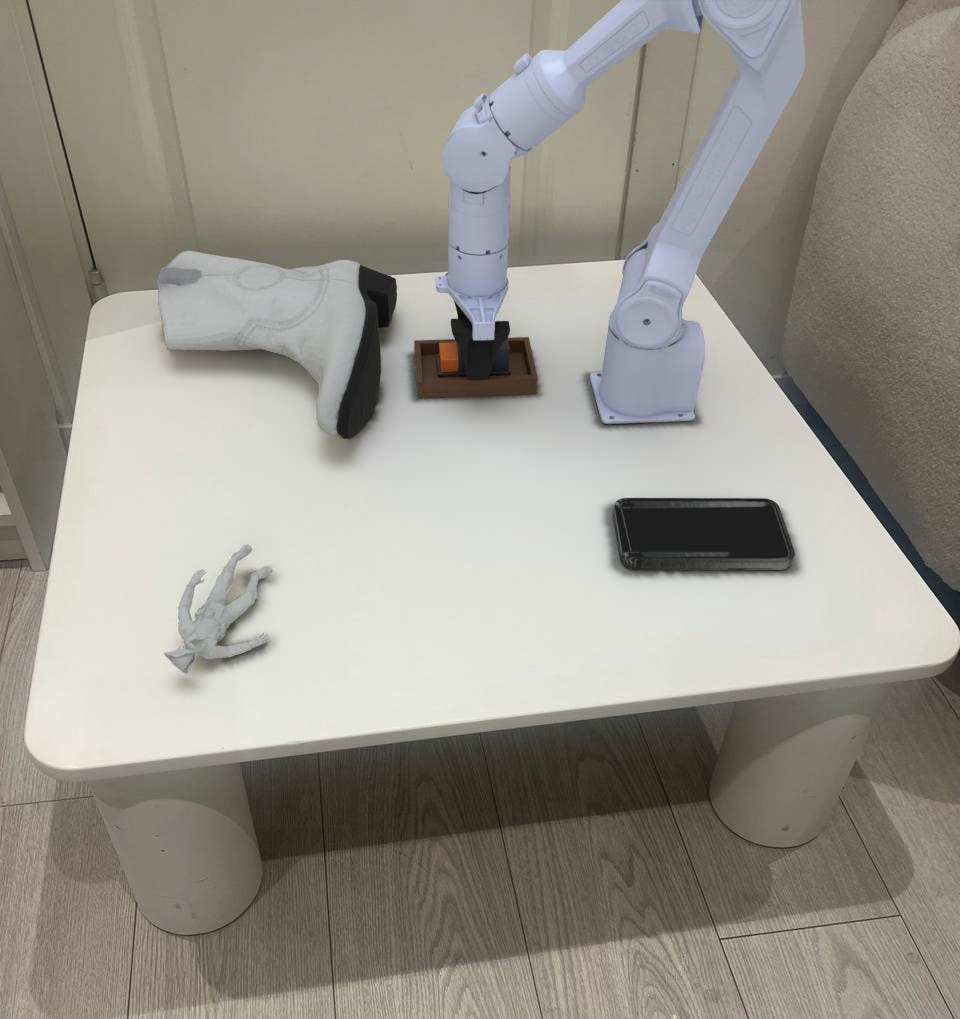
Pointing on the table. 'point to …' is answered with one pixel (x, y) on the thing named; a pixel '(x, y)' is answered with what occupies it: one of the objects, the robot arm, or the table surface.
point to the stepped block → (453, 362)
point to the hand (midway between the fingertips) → (474, 358)
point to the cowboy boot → (287, 322)
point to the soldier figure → (215, 616)
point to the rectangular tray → (514, 384)
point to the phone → (702, 534)
